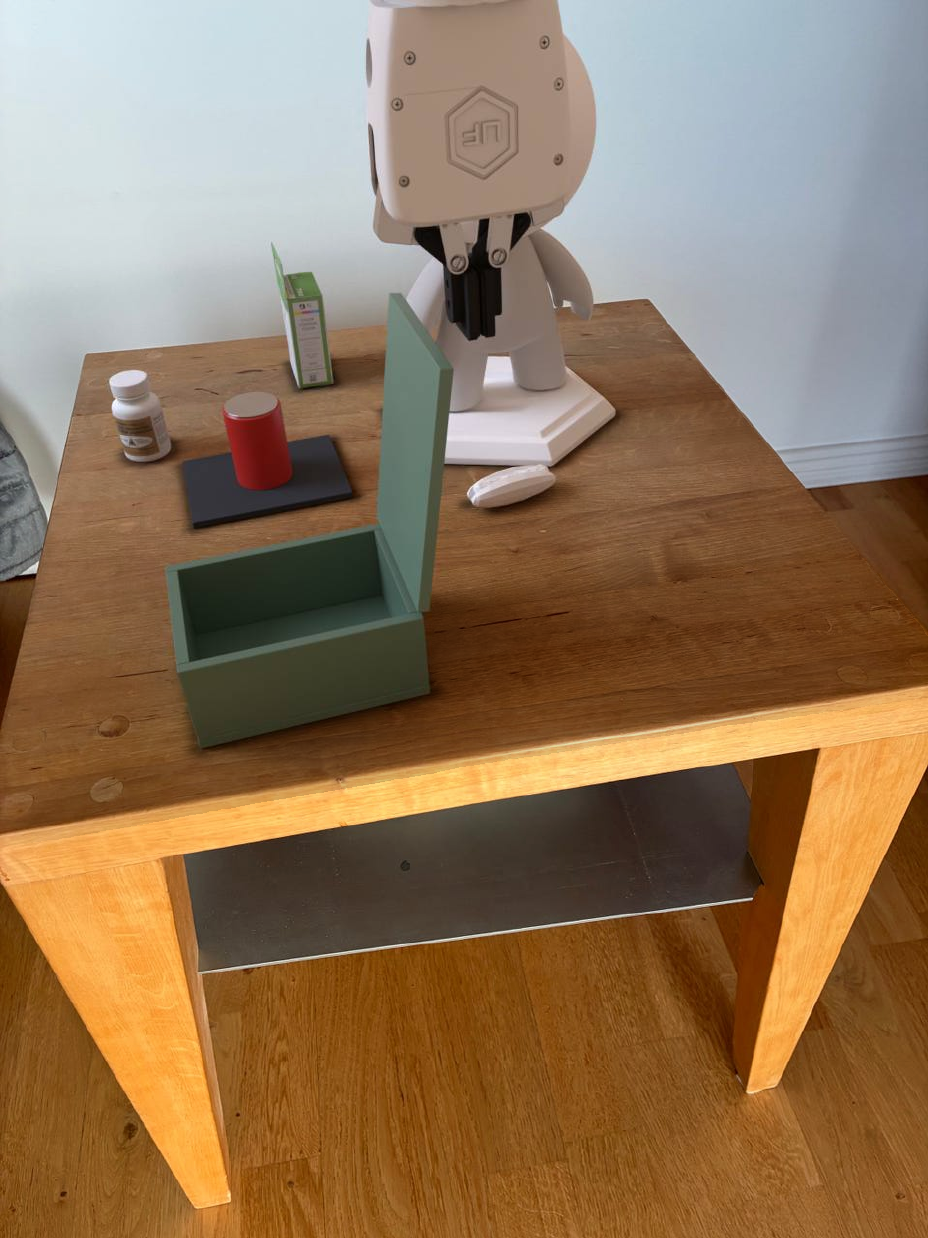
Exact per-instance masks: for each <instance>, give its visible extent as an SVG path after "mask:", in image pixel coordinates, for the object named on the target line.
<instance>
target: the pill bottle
mask: <svg viewBox="0 0 928 1238" xmlns="http://www.w3.org/2000/svg"><path fill="white" fill-rule="evenodd" d="M109 387H110V390H111V391H110V392H111V393H112V396H113V398H115V399H114V400H113V402H112V404H111V412H112V416H113V419H114V422H115V425H116V429H117V432H118V436H119V439H120V442H121V445H122V448H123V452H124V455H125V456H126V458H127V459H128V460H130V461H132V462H136V463H137V462H138V463H149V462H154V461H157V460H161V459H163V458H164V457H166V456H167V455H168V454H169V453H170V451H171V450H172V442H171V438H170V435H169V431H168V426H167V423H166V419H165V415H164V412H163V408H162V404H161V401H160V398H159V397H158V395H157V394H155V393H154V392H152V387H151V382H150V379H149V376H148V373H146V372H145V371H143V370H139V369H130V370H129V369H128V370H124V371H120V372H118V373H116V374H114V375H111V377H110V378H109Z"/></svg>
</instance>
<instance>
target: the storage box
mask: <svg viewBox="0 0 928 1238" xmlns="http://www.w3.org/2000/svg"><path fill="white" fill-rule="evenodd" d="M164 569H165V579H166V587H167V597H168V604H169V605H168V606H169V613H170V622H171V631H172V640H173V648H174V656H175V657H174V658H175V665H176V673H177V677H178V680H179V684H180V687H181V689H182V694H183V696H184V700H185V703H186V705H187V710H188V712H189V715H190V719H191V722H192V726H193V728H194V732H195V735H196V738H197V741H198V744H199V747H200V749H206V748H211V747H214V746H218V745H222V744H223V745H224V744H226V743H230V742H234V741H238V740H242V739H246V738H251V737H255V736H259V735H264V734H268V733H272V732H276V731H280V730H286V729H288V728H289V729H290V728H293V727H298V726H301V725H306V724H311V723H314V722H318V721H321V720H326V719H331V718H334V717H338V716H342V715H347V714H351V713H356V712H359V711H364V710H368V709H371V708H372V709H373V708H376V707H381V706H385V705H389V704H393V703H396V702H401V701H405V700H410V699H413V698H417V697H423V696H426V695H430V694H431V688H430V687H431V686H430V675H429V664H428V663H429V662H428V653H427V641H426V628H425V618H424V615H423V614H422V613H423V612H417V610H416V607H415V605H414V603H413V600H412V598H411V596H410V593H409V591H408V589H407V586H406V584H405V582H404V579H403V577H402V575H401V572H400V570H399V568H398V566H397V563H396V561H395V559H394V556H393V554H392V552H391V549H390V547H389V545H388V542H387V540H386V538H385V535H384V533H383V531H382V528H381V526H380V524H379V522H378V523H373V524H368V525H363V526H357V527H353V528H348V529H343V530H339V531H333V532H328V533H324V534H318V535H314V536H309V537H304V538H299V539H294V540H289V541H283V542H278V543H274V544H269V545H263V546H259V547H254V548H249V549H244V550H239V551H234V552H229V553H224V554H219V555H214V556H209V557H205V558H201V559H200V558H199V559H195V560H190V561H189V560H188V561H185V562H179V563H175V564H170V565H169V564H168V565H166V566H164Z"/></svg>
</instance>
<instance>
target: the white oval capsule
mask: <svg viewBox="0 0 928 1238" xmlns="http://www.w3.org/2000/svg"><path fill="white" fill-rule="evenodd" d="M556 480H557V478H556V475H555V474H554V473H553V472H551V471H550V469H549V467H548V466H544V465H537V466H534V465H530V466H513V467H512V466H511V467H510V468H506V469H502V470H499V471H496V472H495V471H494V472H493V473H491V474H489V475H487V476H484V477H483V478H481V479H479V480H478V481H476V482H475V483H474V484H472V485H471V486H470V487H469V489H468V491H467V493H466V496H467V498H468V500H470V501H471V503H472V505H473V506H474V507H475V508H487V509H492V508H497V507H504V506H509V505H513V504H515V503H518V502H523V501H525V500H527V499H529V498H532V497H534V496H536V495H538V494H541V493H543V492H544V491H545V490H547V489H549V488H551V487H552V486H553V485H554V484H555V482H556Z"/></svg>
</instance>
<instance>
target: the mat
mask: <svg viewBox="0 0 928 1238" xmlns="http://www.w3.org/2000/svg"><path fill="white" fill-rule="evenodd" d="M287 443H288V449H289V455H290V460H291V466H292V476H291V478H290V479H289V480H288V481H287V482H286V483H284V484H283V485H281V486H278V487H276V488H272V489H268V490H251V489H247V488H244V487H243V486H241V485H240V484H239V483H238V480H237V476H236V471H235V467H234V462H233V458H232V453H231V451H230V452H226V453H225V452H224V453H219V454H214V455H209V456H203V457H198V458H191V459H187V460H182V469H183V474H184V480H185V486H186V493H187V498H188V505H189V511H190V517H191V525H192V527H193V529H199V528H204V527H210V526H215V525H219V524H225V523H229V522H230V523H231V522H234V521H240V520H245V519H251V518H255V517H261V516H266V515H271V514H277V513H281V512H287V511H292V510H296V509H301V508H307V507H311V506H312V507H313V506H316V505H317V506H318V505H321V504H322V505H323V504H327V503H331V502H338V501H343V500H348V499H352V498H354V492H353V490H352V487H351V485H350V483H349V480H348V477H347V475H346V473H345V470H344V467H343V466H342V463H341V460H340V458H339V455H338V453H337V450H336V448H335V445H334V443H333V441H332V439H331V436H330V434H324V435H319V436H314V437H307V438H302V439H297V440H292V441H287Z"/></svg>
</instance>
